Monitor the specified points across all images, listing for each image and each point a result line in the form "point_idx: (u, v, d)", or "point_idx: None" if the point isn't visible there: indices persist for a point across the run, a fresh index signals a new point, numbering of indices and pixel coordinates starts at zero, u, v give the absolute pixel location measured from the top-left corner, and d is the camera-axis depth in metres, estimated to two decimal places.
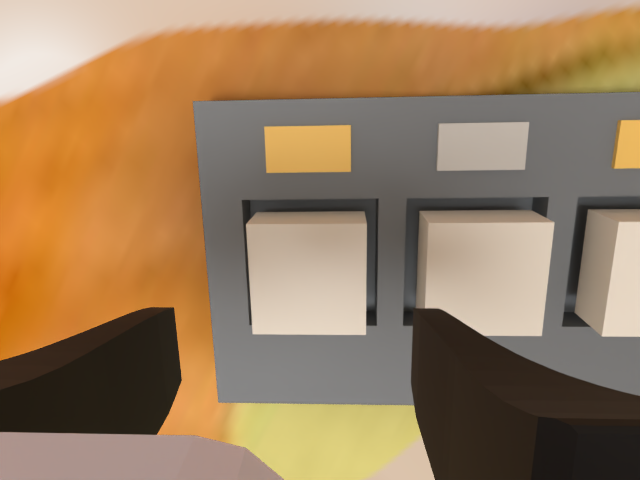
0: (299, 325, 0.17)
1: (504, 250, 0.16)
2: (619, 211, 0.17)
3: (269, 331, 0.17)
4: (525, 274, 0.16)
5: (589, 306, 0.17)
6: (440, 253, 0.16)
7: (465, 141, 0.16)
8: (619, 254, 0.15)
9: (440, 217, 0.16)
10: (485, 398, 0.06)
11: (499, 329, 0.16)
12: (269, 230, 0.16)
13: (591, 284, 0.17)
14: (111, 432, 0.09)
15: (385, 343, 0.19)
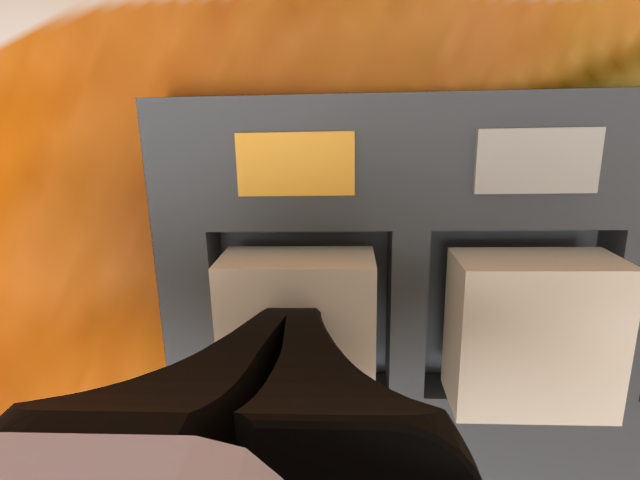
0: None
1: (573, 309, 0.11)
2: None
3: None
4: (603, 343, 0.11)
5: None
6: (482, 313, 0.11)
7: (515, 153, 0.12)
8: None
9: (480, 260, 0.12)
10: None
11: (562, 416, 0.12)
12: (241, 278, 0.11)
13: None
14: None
15: None
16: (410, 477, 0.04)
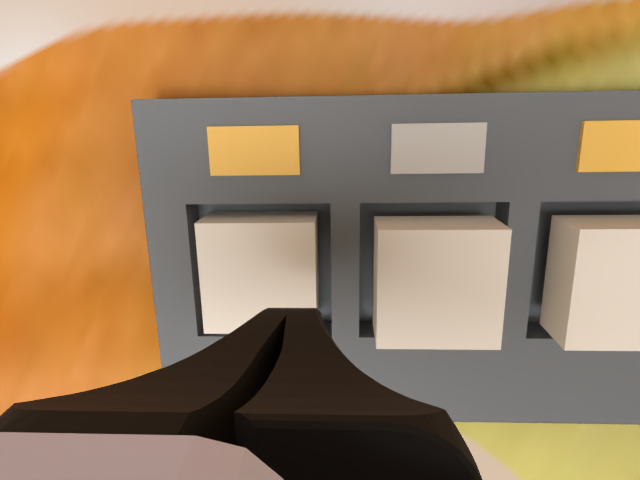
0: None
1: (459, 259, 0.15)
2: (584, 217, 0.16)
3: (220, 330, 0.17)
4: (482, 285, 0.15)
5: (553, 318, 0.16)
6: (391, 262, 0.15)
7: (420, 143, 0.15)
8: (581, 263, 0.14)
9: (393, 223, 0.15)
10: None
11: (456, 342, 0.15)
12: (217, 230, 0.16)
13: (554, 294, 0.16)
14: None
15: None
16: (410, 477, 0.04)
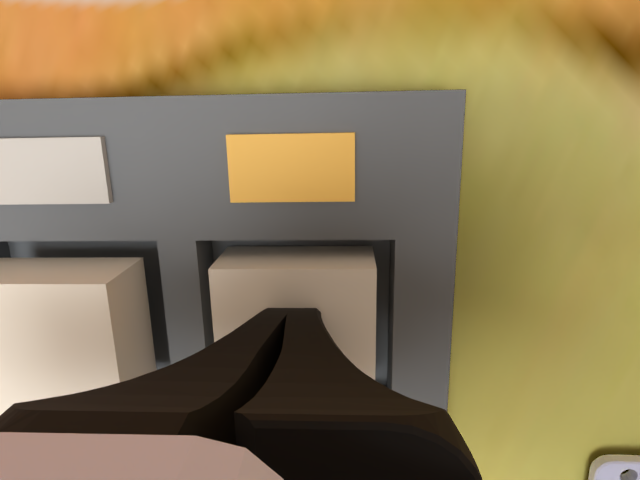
0: None
1: (46, 322, 0.11)
2: (256, 250, 0.13)
3: None
4: (84, 356, 0.11)
5: None
6: None
7: (20, 164, 0.11)
8: (218, 311, 0.12)
9: None
10: None
11: None
12: None
13: None
14: None
15: None
16: (410, 477, 0.04)
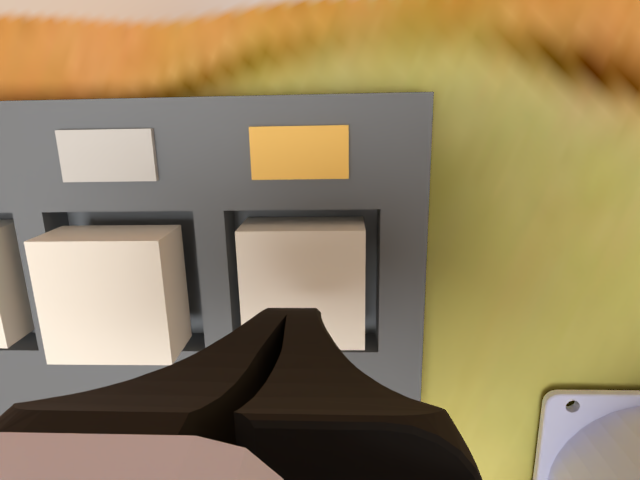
0: None
1: (111, 271, 0.14)
2: (270, 219, 0.16)
3: None
4: (140, 298, 0.14)
5: None
6: (44, 275, 0.14)
7: (86, 150, 0.15)
8: (242, 265, 0.15)
9: (58, 234, 0.15)
10: None
11: (125, 358, 0.15)
12: None
13: None
14: None
15: (51, 369, 0.17)
16: (410, 477, 0.04)
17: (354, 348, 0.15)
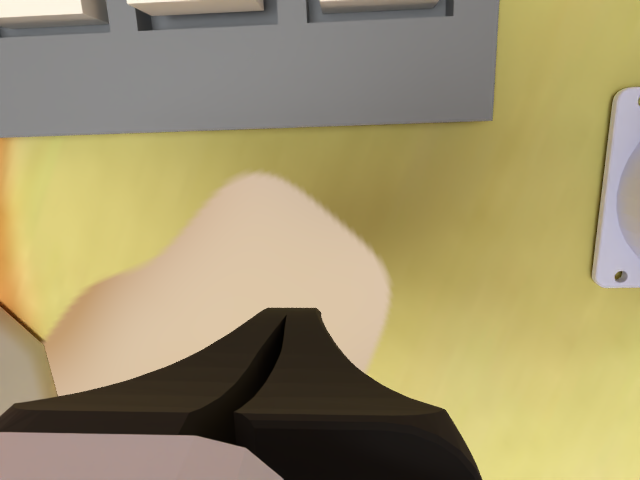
0: (14, 4, 0.16)
1: None
2: None
3: None
4: None
5: None
6: None
7: None
8: None
9: None
10: None
11: None
12: None
13: None
14: None
15: (123, 54, 0.17)
16: (410, 477, 0.04)
17: None
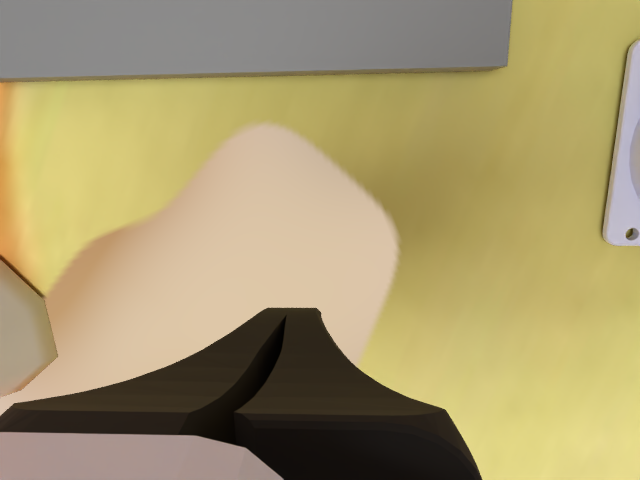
0: None
1: None
2: None
3: None
4: None
5: None
6: None
7: None
8: None
9: None
10: None
11: None
12: None
13: None
14: None
15: None
16: (410, 477, 0.04)
17: None
